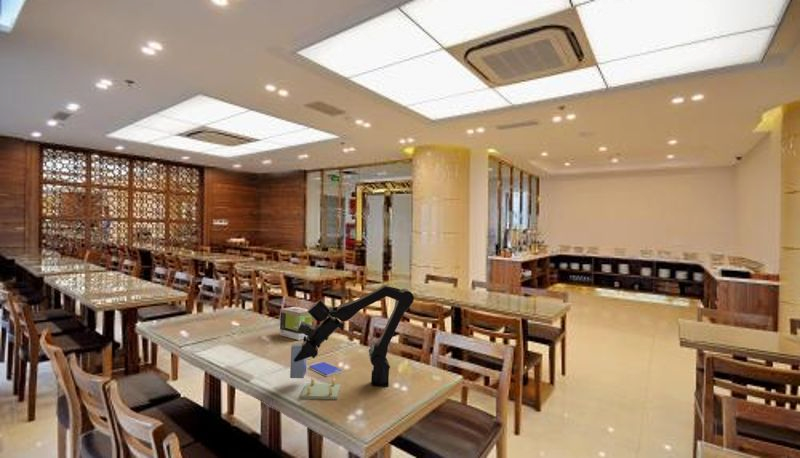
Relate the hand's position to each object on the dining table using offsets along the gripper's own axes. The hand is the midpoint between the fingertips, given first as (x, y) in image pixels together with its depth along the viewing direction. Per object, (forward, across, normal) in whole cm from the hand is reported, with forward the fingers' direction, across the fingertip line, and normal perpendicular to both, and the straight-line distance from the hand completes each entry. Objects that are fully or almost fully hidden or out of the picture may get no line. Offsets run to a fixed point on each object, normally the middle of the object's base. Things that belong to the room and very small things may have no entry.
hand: (295, 358), depth 150 cm
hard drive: (0, -15, +16) cm, 22 cm away
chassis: (0, +7, +15) cm, 16 cm away
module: (+4, 0, +6) cm, 7 cm away
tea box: (+11, -65, +4) cm, 66 cm away
